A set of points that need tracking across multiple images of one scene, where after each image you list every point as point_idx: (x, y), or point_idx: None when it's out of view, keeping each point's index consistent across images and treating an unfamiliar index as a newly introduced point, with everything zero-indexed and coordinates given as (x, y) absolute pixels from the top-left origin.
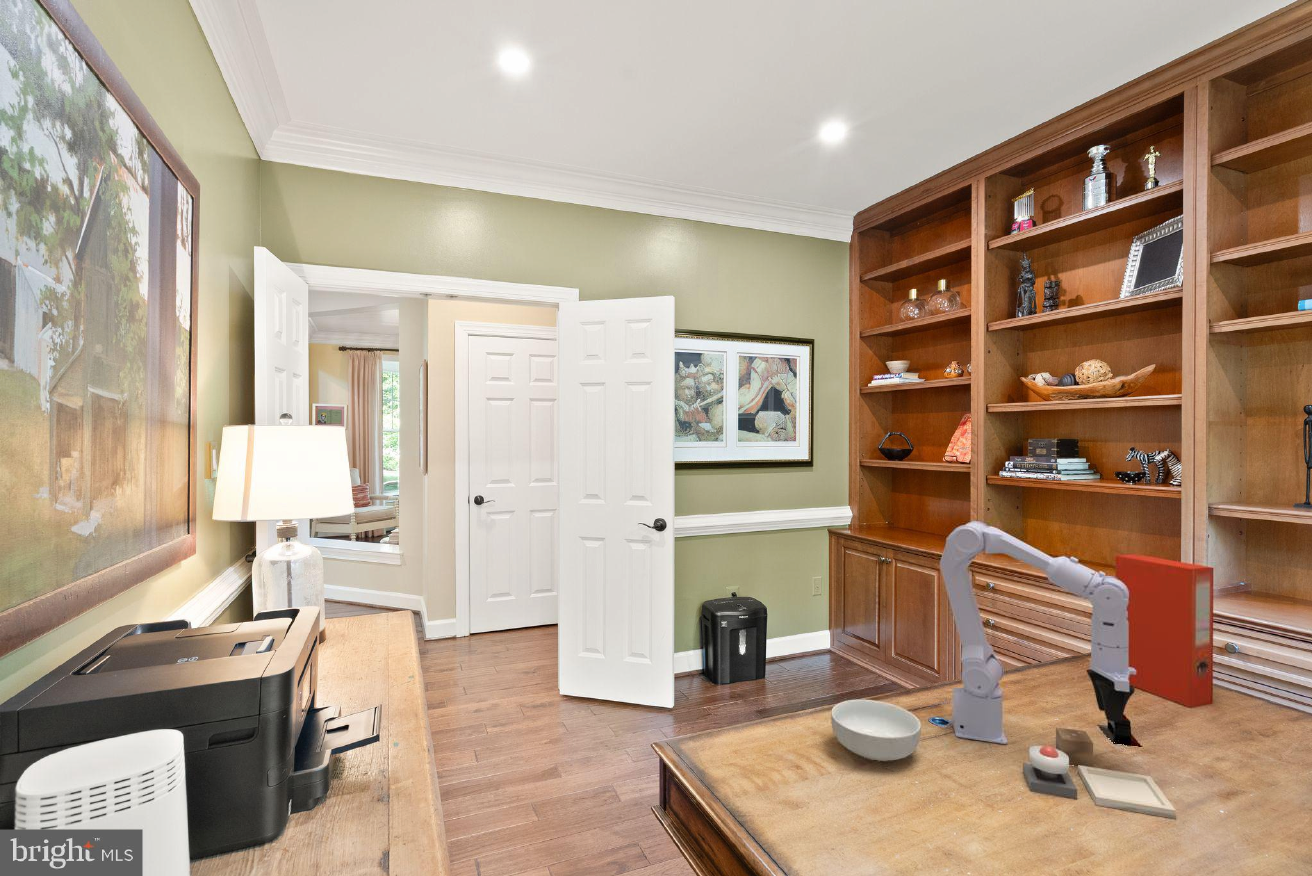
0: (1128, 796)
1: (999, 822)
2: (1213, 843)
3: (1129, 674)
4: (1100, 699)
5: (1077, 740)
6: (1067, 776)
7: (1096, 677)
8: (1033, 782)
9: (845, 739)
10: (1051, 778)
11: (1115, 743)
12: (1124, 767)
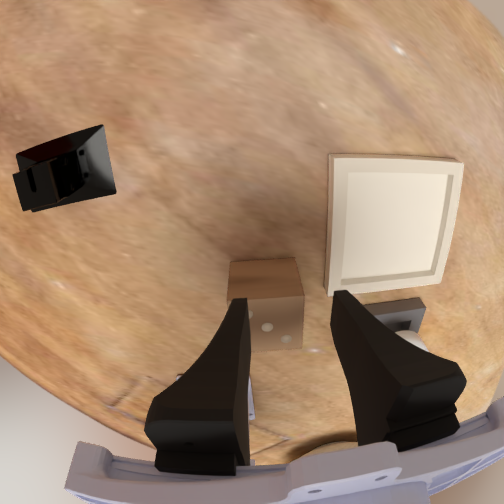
0: (413, 223)
1: (463, 363)
2: (498, 133)
3: (408, 458)
4: (248, 362)
5: (300, 323)
6: (385, 317)
7: (248, 455)
8: None
9: None
10: None
11: (111, 185)
12: (254, 189)
